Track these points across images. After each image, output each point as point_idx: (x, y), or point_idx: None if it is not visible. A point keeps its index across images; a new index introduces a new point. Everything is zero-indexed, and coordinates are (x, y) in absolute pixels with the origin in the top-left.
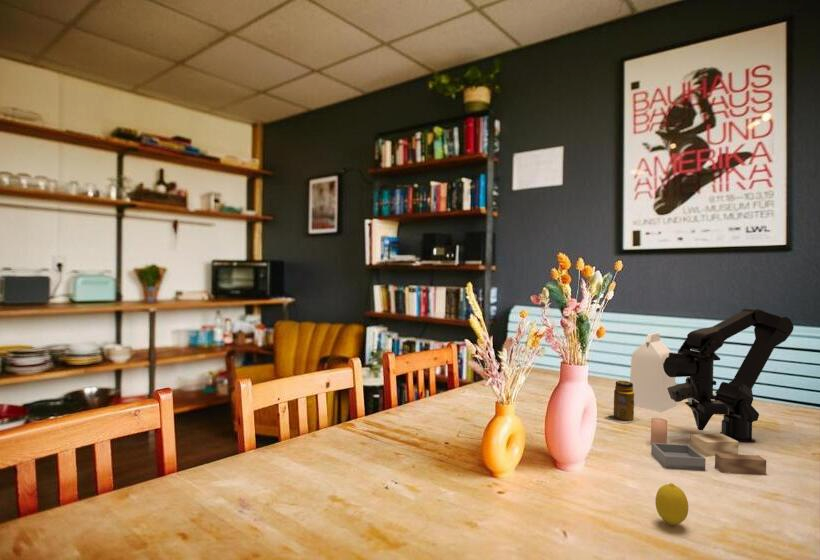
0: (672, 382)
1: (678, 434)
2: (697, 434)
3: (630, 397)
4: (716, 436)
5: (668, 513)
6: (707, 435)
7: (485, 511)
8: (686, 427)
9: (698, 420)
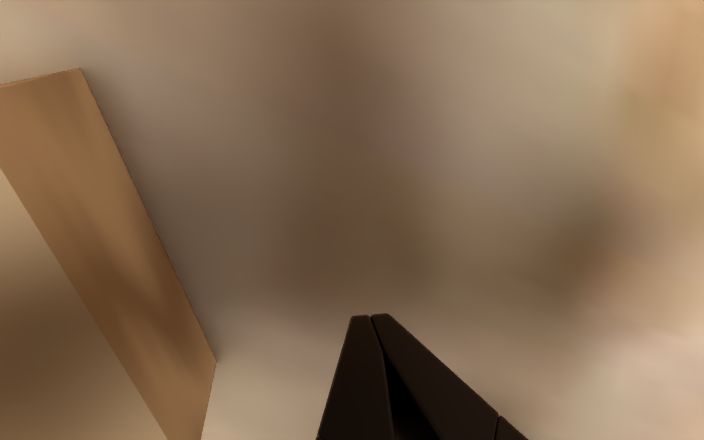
0: None
1: (532, 122)
2: (20, 214)
3: None
4: (41, 414)
5: None
6: (31, 333)
7: None
8: (689, 271)
9: (325, 421)
